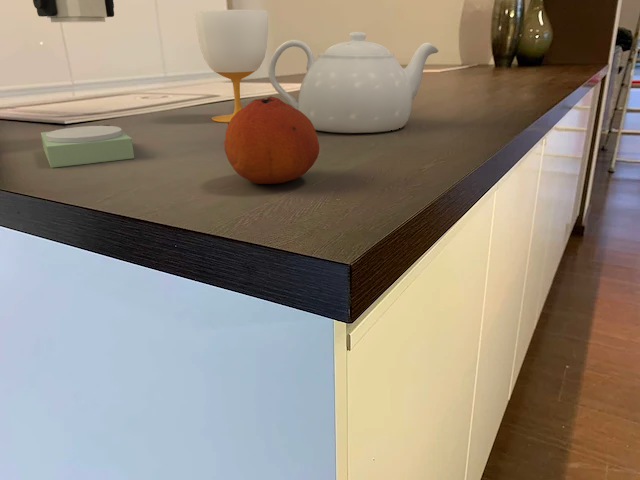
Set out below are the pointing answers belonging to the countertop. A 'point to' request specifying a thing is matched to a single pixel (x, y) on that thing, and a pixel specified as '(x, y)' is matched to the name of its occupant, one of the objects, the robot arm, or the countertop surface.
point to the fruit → (270, 142)
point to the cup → (233, 45)
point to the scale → (86, 145)
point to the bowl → (79, 11)
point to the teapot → (355, 86)
